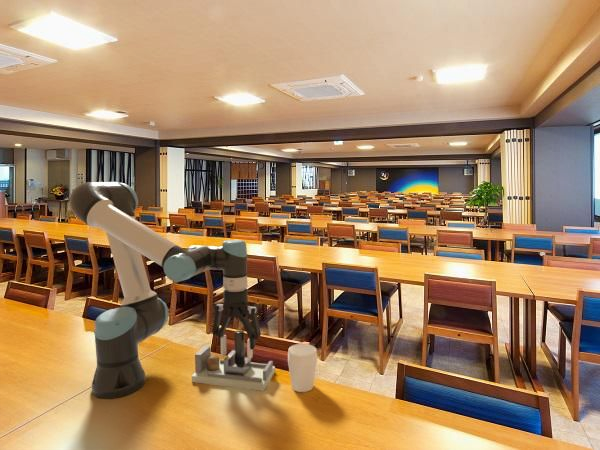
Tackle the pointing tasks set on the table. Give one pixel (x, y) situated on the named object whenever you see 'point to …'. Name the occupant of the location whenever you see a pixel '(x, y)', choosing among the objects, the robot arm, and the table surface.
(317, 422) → the table surface
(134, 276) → the robot arm
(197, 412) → the table surface
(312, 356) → the cup
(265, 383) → the base
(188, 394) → the table surface
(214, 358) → the walnut
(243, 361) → the handle
